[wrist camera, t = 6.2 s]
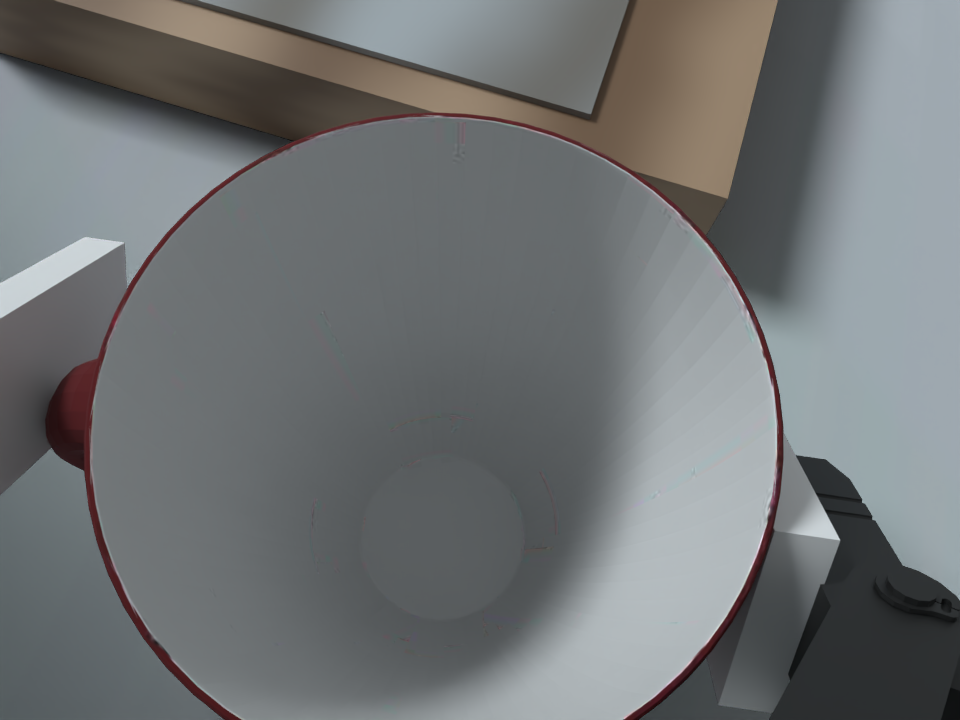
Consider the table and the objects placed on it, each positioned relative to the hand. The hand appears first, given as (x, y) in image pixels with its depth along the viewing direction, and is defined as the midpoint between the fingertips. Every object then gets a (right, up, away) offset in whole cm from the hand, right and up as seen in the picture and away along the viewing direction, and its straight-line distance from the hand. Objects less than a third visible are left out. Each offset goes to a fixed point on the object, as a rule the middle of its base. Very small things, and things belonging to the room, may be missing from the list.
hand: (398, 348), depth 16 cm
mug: (0, -4, +3) cm, 5 cm away
